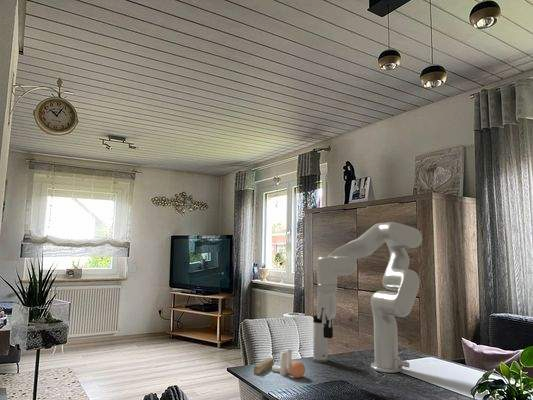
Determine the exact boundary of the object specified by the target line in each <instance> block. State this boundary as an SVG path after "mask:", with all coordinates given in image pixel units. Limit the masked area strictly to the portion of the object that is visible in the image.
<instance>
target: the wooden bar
mask: <svg viewBox="0 0 533 400" xmlns="http://www.w3.org/2000/svg"><path fill="white" fill-rule="evenodd" d="M273 365H275V359H274V357H268V358H266V359H265V360H262V361H261V362H259V363H257V364H255V365H254V366H253V375H258V376H259V375H261V374H262V373H263V372H265V371H267V370H269V369H270V368H271V369H272V366H273Z"/></svg>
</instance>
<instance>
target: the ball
mask: <svg viewBox="0 0 533 400" xmlns="http://www.w3.org/2000/svg"><path fill="white" fill-rule="evenodd" d="M290 373H291V374H290V375H291V376H292V377H293V378H295V379H300V378H301V377H303V376H304V375H305V373H306V366H305V364H304V363H303V362H301V361H299V360H296V361H293V362H292V364H291V365H290Z"/></svg>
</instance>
